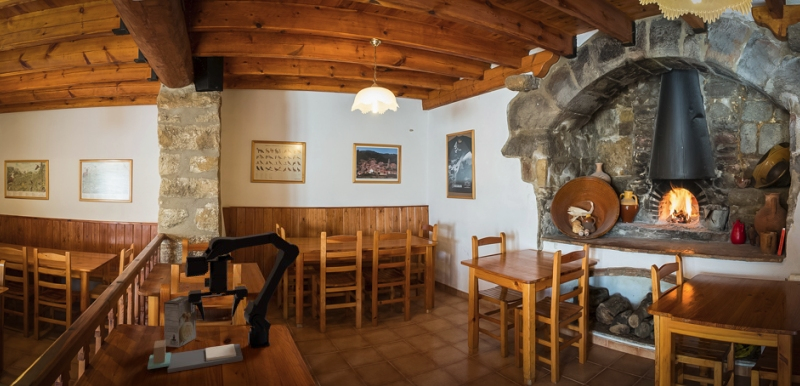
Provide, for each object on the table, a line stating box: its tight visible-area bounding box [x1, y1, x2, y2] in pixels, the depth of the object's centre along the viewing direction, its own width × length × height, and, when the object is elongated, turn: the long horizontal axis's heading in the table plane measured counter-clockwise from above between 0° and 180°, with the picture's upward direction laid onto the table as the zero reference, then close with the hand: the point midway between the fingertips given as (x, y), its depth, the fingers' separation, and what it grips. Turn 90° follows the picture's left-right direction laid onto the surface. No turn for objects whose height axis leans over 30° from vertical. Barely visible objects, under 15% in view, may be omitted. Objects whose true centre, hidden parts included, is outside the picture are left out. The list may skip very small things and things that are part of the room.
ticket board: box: [167, 343, 244, 374], centre depth 141 cm, size 22×12×2 cm, turn 116°
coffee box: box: [163, 295, 197, 348], centre depth 154 cm, size 9×6×16 cm
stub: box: [147, 339, 172, 370], centre depth 135 cm, size 6×9×6 cm, turn 26°
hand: (218, 318), depth 146 cm, fingers open, 9 cm apart
